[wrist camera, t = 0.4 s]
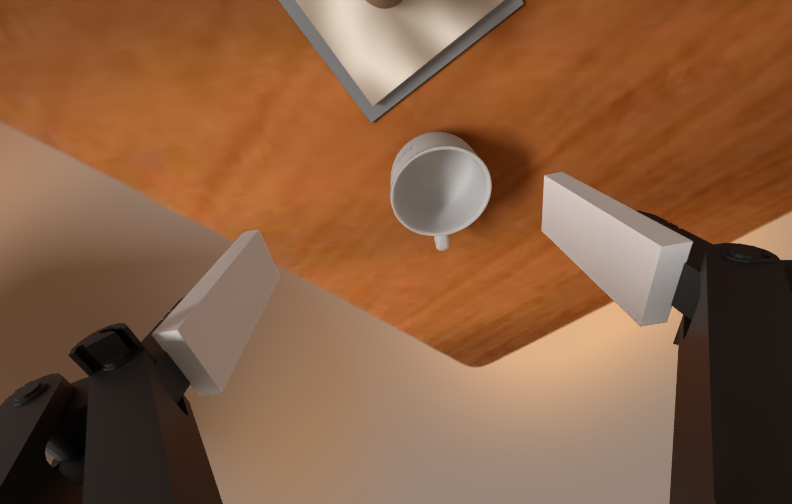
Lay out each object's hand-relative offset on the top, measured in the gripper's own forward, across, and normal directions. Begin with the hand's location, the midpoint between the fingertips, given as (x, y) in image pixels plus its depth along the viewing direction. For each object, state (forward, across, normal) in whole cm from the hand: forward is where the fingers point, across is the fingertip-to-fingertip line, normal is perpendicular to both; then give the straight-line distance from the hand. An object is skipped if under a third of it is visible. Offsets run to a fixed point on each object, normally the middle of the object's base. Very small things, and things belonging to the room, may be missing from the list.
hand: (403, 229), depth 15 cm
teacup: (+27, +4, -6) cm, 28 cm away
